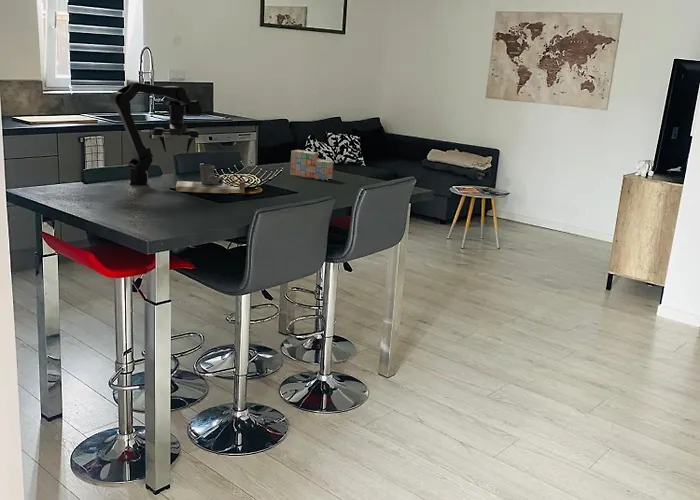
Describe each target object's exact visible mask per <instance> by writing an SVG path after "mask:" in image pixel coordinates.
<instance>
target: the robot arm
mask: <svg viewBox="0 0 700 500" xmlns="http://www.w3.org/2000/svg"><path fill="white" fill-rule="evenodd" d="M138 93H143V94H144V93H145V94H150V95H151V94H152V95H156V96H162V97H165V98H168V100H167V101H166V102H165V103H164V104H165V105H166V106H169V127H168V129H165V128H164V127H154V129H153V136H156V138H159V140H160V142H161V145H162V148H163V151H164V153H166V152H167V145H166V136H165V135H169V136H178V137H180V136H188V139H187V145H186V154H188V153H189V150H190V146H191V144H192V143H193V140H196V139H197V138H198V139H199V133H200V132H199V130H198V129H189V130H187V124H186V123H185V122H184V119H185V117H193V118H194V117H198V118H200V117H201V116H202V112H203V111H202V110H203V109H202V107H201V104H200V101H199V100H190V98H189V97H188V95H187V93H186V90H185V88H183V87H181V86H179V85H177V86H176V85H165V86H160V85H156V84H155V85H154V84H148V83H141V82H138V81H130V82H129V83H128V84H127V85H125V86H123V87H122V88H120V89H118V90H117V91H113V92H112V93H111V94H110V96H109V97H108V98H109V102H110V104H111V105H112V107H113V109H114V110H115V112H116V113H117V114H118V116H119V117H120V119H121V122H122V124H123V127H124V129H125V132H126V134H127V136H128V139H129V141H130V145H131V147H132V148H131V149H132V151H131V153H132V159H130V160H129V161H128V163H127V165H128V168H129V169H130V172H129V173H130V177H129V178H130V183H129V185H131V186H132V185H133V186H146V185H147V184H148V182H149V173H148V171H149V169H150V166H151V165H152V163H153V157H154V155H153V153H152V151H151V148H150V147H148V146H147V145H144V143H143V140H142V138H141V136H140V133H139V129H138V128H137V125H136V123H135V120H134V118H133V116H132V111H131V110H132V109H131V107H132V106H131V101H132V100H133V99H134V98H135V97H136V95H138ZM173 100H175V101H173ZM184 115H185V117H184Z"/></svg>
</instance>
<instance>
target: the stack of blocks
mask: <svg viewBox="0 0 700 500" xmlns="http://www.w3.org/2000/svg"><path fill="white" fill-rule="evenodd" d="M333 170H334V161H333V160H327V159H322V158H321V159H320V158H319V153H318V152H317V151H316V152H315V151H308V150H303V149H294V150H291V153H290V169H289V172H290V173H289V174H290V175H292V176H297V177H301V178H308V179H312V178H314V179H313V180H318V179H321V180H320V181H324V180H327V181H329V180H328V179H332V180H333Z"/></svg>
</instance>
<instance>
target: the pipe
mask: <svg viewBox="0 0 700 500" xmlns="http://www.w3.org/2000/svg"><path fill="white" fill-rule="evenodd" d="M198 166H199V172H200V182H201V183H202V184H209V185H216V186H222V184H223V183H224V180H223V178H222V177H221V176H215V175H214V173H215V172H214V171H215V169H216V167H215V165H213V164H212V165H211V164H203V163H202V164H201V163H200V164H199V165H198Z"/></svg>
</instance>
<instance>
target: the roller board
mask: <svg viewBox="0 0 700 500" xmlns="http://www.w3.org/2000/svg"><path fill="white" fill-rule="evenodd" d="M245 183H246V181H245V180H244V181H240V187H234V186H230V185H227V184H225V182H223V184H222V186H216V185H209V184H202V183H201V181H186V180H185V181H184V180H183V181H182V180H177V181H176V185H175V192H187V193H188V192H189V193H210V194H229V193H244V194H245V189H246V188H245V185H246V184H245Z"/></svg>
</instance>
